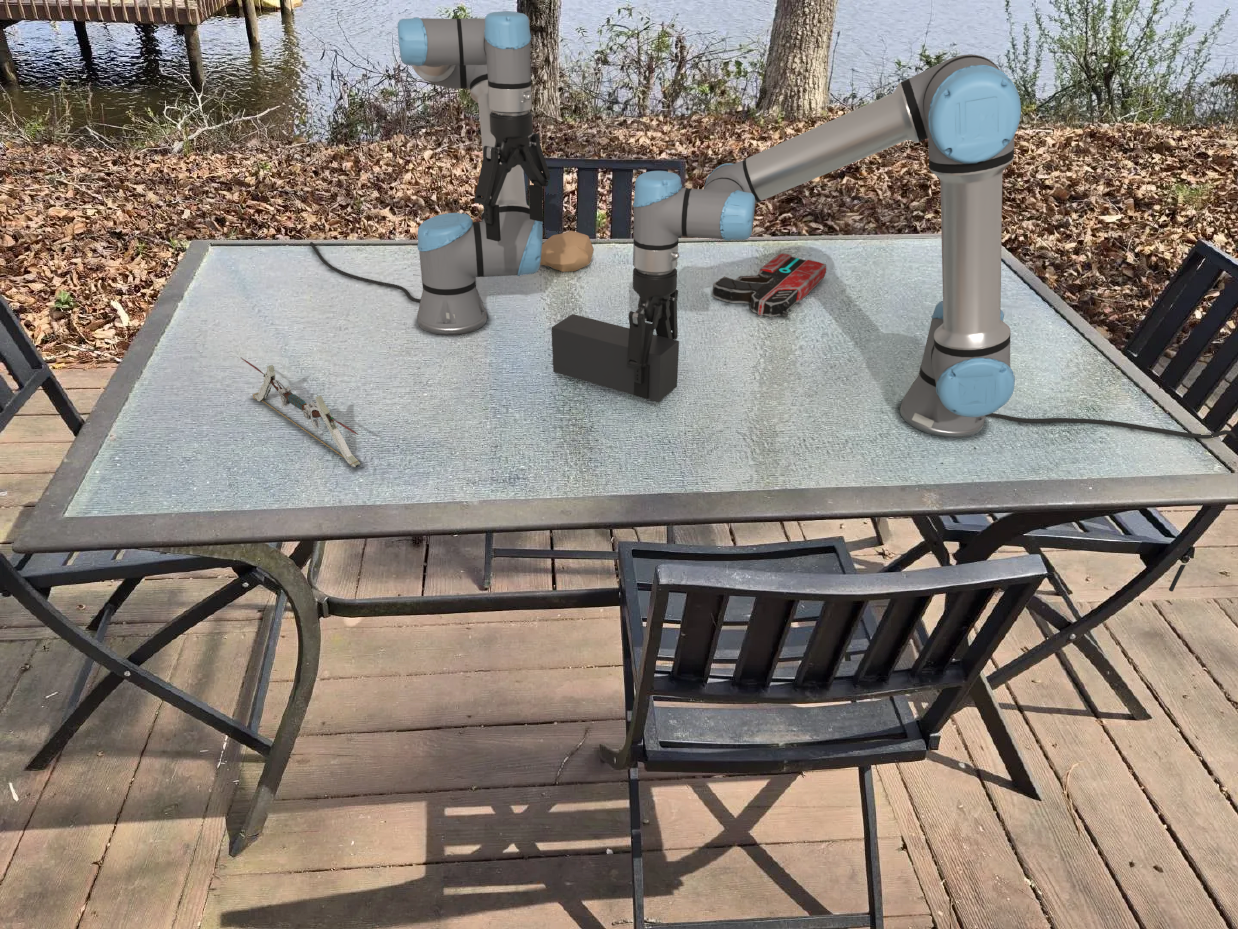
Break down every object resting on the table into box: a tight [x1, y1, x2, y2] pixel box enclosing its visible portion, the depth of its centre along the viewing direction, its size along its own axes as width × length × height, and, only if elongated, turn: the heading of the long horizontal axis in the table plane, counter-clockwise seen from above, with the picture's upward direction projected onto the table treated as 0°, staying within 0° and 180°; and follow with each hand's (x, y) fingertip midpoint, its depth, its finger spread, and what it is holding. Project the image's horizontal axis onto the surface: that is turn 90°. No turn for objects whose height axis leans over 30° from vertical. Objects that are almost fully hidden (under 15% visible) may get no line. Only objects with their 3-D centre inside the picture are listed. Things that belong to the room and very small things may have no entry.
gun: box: [711, 252, 827, 318], centre depth 215 cm, size 4×31×19 cm
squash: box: [540, 230, 595, 273], centre depth 224 cm, size 11×20×9 cm, turn 90°
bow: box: [240, 356, 362, 468], centre depth 154 cm, size 39×2×10 cm, turn 47°
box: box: [551, 313, 680, 403], centre depth 162 cm, size 23×7×9 cm, turn 59°
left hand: (515, 229), depth 166 cm, fingers open, 13 cm apart
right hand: (651, 387), depth 160 cm, fingers closed on box, 7 cm apart
